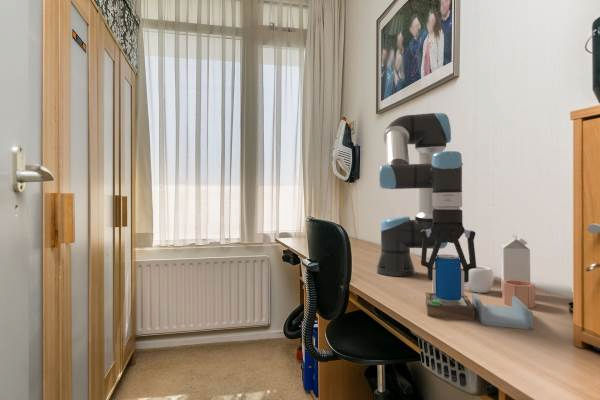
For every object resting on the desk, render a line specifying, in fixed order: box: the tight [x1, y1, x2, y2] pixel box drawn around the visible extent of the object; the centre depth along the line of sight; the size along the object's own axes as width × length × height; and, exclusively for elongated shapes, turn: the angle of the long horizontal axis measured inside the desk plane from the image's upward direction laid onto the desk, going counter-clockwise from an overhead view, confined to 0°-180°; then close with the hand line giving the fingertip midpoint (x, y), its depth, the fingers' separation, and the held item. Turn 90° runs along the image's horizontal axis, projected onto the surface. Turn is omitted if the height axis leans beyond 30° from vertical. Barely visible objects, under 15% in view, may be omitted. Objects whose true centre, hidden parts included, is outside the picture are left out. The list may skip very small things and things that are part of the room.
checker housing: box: [425, 292, 475, 321], centre depth 93 cm, size 12×11×4 cm
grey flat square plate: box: [431, 295, 467, 306], centre depth 93 cm, size 8×8×1 cm
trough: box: [471, 292, 534, 331], centre depth 87 cm, size 14×11×4 cm
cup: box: [501, 280, 536, 309], centre depth 99 cm, size 8×8×6 cm
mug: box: [464, 265, 494, 294], centre depth 113 cm, size 12×8×8 cm
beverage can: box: [434, 254, 462, 303], centre depth 93 cm, size 6×6×12 cm
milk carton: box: [500, 233, 531, 291], centre depth 109 cm, size 7×7×19 cm
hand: (447, 292), depth 93 cm, fingers closed on beverage can, 6 cm apart
